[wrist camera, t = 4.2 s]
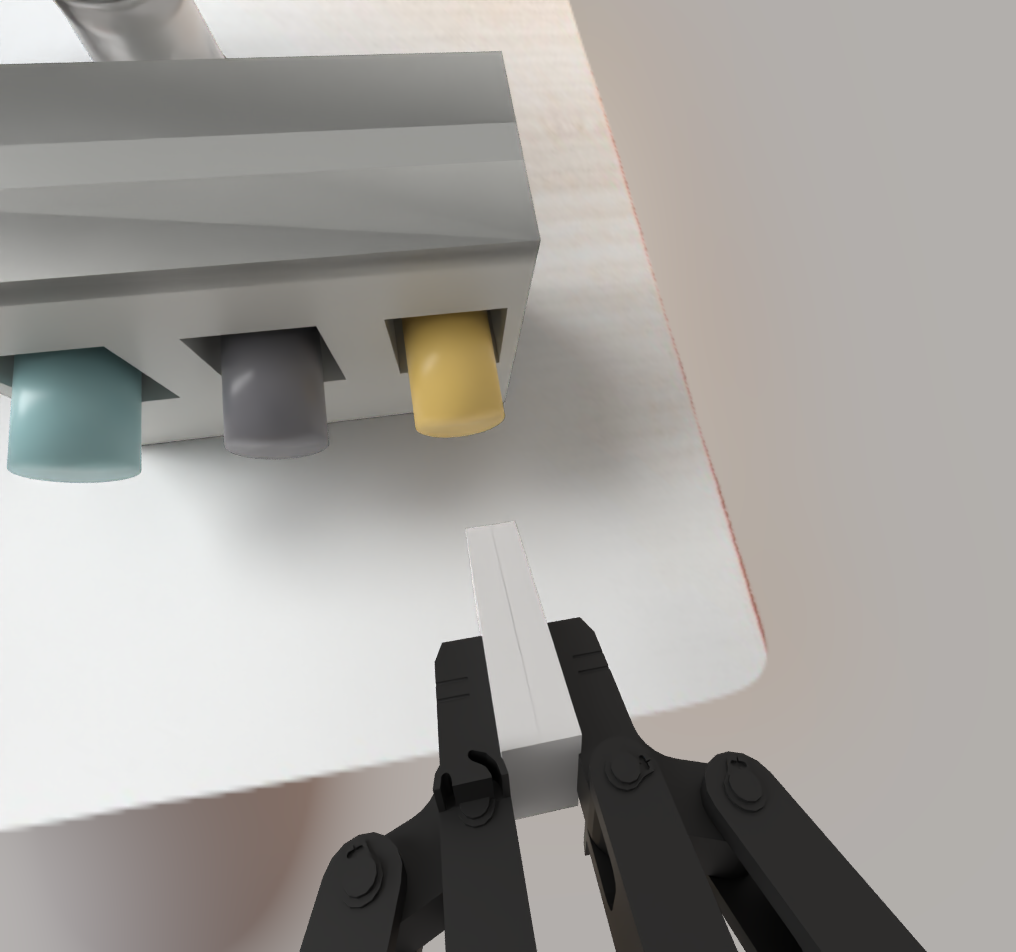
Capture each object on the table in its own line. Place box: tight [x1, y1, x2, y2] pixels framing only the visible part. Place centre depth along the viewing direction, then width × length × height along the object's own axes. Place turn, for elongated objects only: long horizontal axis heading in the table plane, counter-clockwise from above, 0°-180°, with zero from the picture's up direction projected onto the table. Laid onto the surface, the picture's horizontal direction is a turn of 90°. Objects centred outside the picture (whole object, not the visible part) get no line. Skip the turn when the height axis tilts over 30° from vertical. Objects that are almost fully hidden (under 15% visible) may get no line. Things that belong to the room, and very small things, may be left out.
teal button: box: [7, 346, 142, 483], centre depth 18 cm, size 5×4×4 cm
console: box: [0, 51, 540, 445], centre depth 20 cm, size 8×20×13 cm, turn 99°
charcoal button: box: [220, 326, 329, 459], centre depth 19 cm, size 5×4×4 cm
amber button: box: [401, 310, 505, 438], centre depth 19 cm, size 5×4×4 cm
